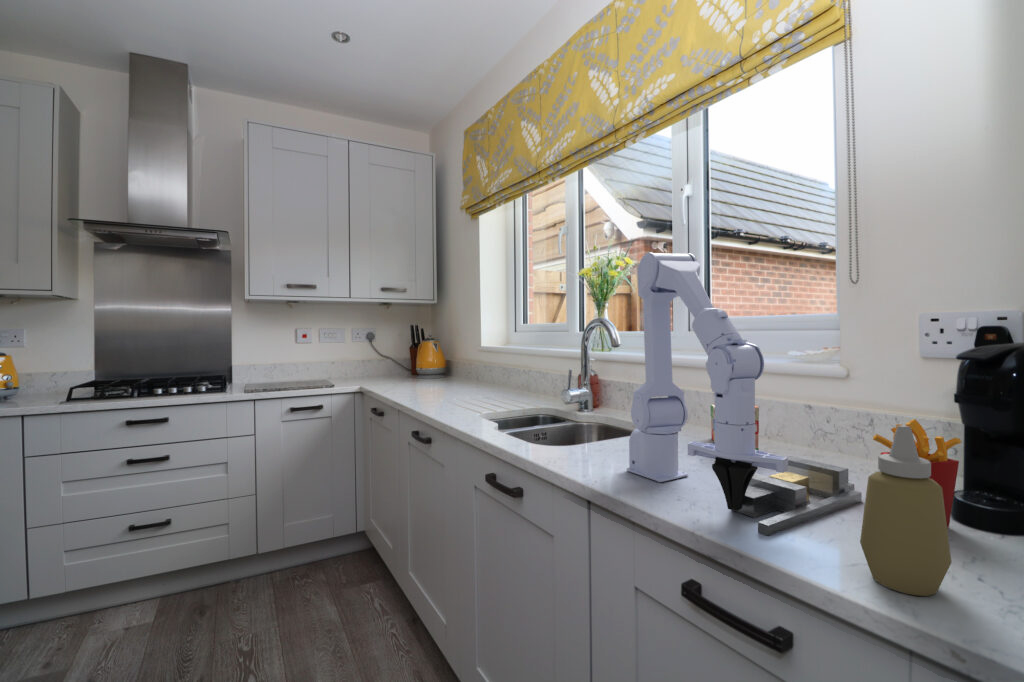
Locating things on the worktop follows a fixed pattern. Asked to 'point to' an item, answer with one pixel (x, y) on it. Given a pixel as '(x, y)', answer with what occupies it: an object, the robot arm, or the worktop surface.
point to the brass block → (793, 479)
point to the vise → (821, 483)
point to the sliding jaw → (772, 496)
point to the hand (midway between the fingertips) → (735, 508)
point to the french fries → (933, 461)
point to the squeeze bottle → (905, 521)
